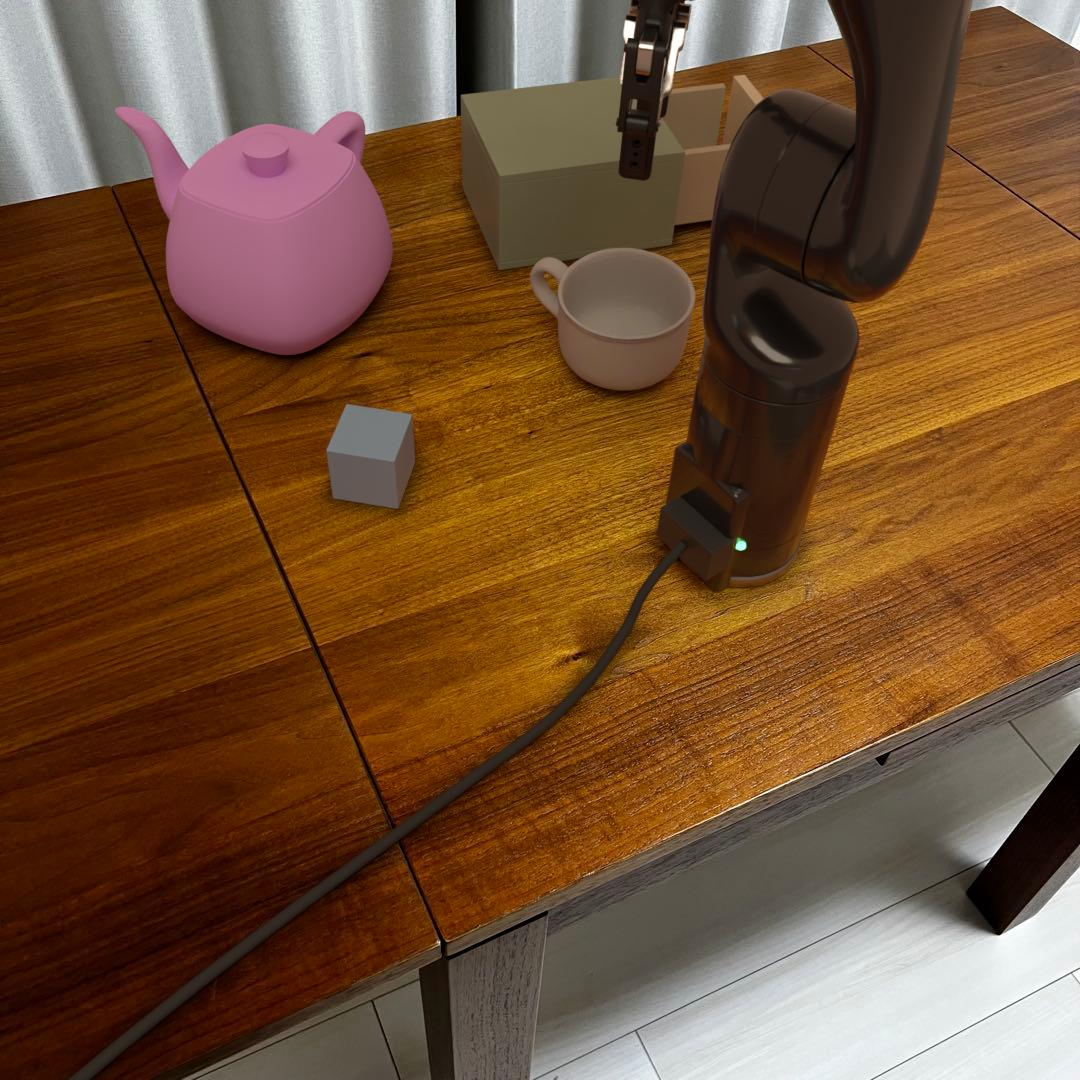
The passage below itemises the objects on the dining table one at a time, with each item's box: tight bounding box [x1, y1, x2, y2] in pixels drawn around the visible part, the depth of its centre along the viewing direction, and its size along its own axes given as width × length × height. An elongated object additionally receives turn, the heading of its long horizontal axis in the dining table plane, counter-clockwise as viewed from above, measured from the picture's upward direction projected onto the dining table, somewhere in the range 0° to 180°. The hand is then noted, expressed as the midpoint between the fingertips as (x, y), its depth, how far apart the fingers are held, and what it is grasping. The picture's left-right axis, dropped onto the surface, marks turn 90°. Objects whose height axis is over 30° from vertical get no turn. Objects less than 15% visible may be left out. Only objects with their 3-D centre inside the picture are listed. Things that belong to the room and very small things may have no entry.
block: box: [326, 403, 416, 510], centre depth 87 cm, size 5×5×5 cm
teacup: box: [529, 248, 696, 391], centre depth 96 cm, size 14×11×8 cm
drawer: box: [663, 74, 764, 226], centre depth 112 cm, size 20×12×8 cm, turn 106°
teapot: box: [115, 106, 394, 356], centre depth 99 cm, size 23×21×15 cm
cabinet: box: [460, 76, 685, 271], centre depth 109 cm, size 17×14×10 cm
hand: (643, 144), depth 84 cm, fingers open, 8 cm apart
